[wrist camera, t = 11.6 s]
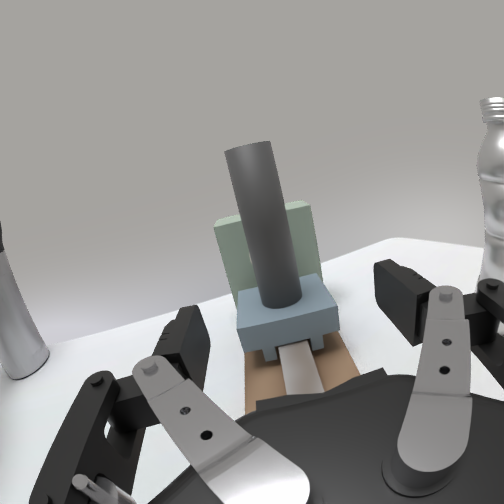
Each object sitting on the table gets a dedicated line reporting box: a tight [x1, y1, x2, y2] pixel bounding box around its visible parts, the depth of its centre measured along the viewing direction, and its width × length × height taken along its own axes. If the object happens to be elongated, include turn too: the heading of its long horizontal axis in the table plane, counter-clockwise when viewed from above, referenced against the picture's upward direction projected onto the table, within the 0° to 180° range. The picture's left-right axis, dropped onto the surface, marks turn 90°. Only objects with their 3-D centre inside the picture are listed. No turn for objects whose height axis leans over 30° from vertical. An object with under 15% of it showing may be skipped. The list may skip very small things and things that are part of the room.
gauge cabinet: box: [214, 200, 323, 308], centre depth 31 cm, size 10×5×12 cm, turn 92°
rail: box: [245, 331, 360, 415], centre depth 21 cm, size 9×20×3 cm, turn 2°
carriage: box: [225, 141, 340, 362], centre depth 23 cm, size 8×7×17 cm
